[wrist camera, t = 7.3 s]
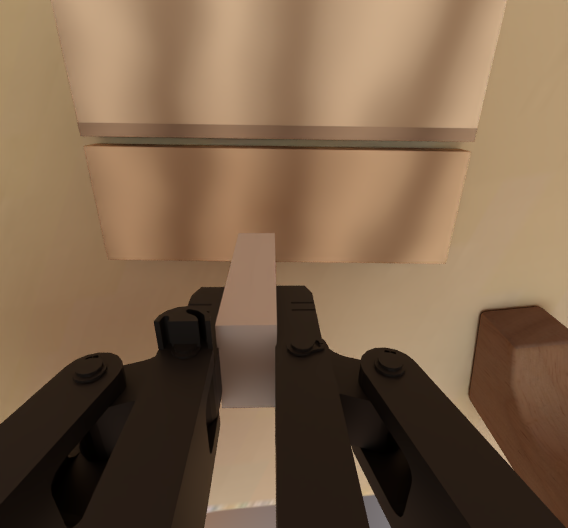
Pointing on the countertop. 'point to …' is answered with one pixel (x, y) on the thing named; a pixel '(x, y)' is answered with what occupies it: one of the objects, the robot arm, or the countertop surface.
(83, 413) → the robot arm
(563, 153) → the countertop surface
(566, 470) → the wooden block
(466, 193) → the countertop surface
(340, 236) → the board
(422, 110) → the laid board
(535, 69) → the countertop surface
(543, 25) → the countertop surface
